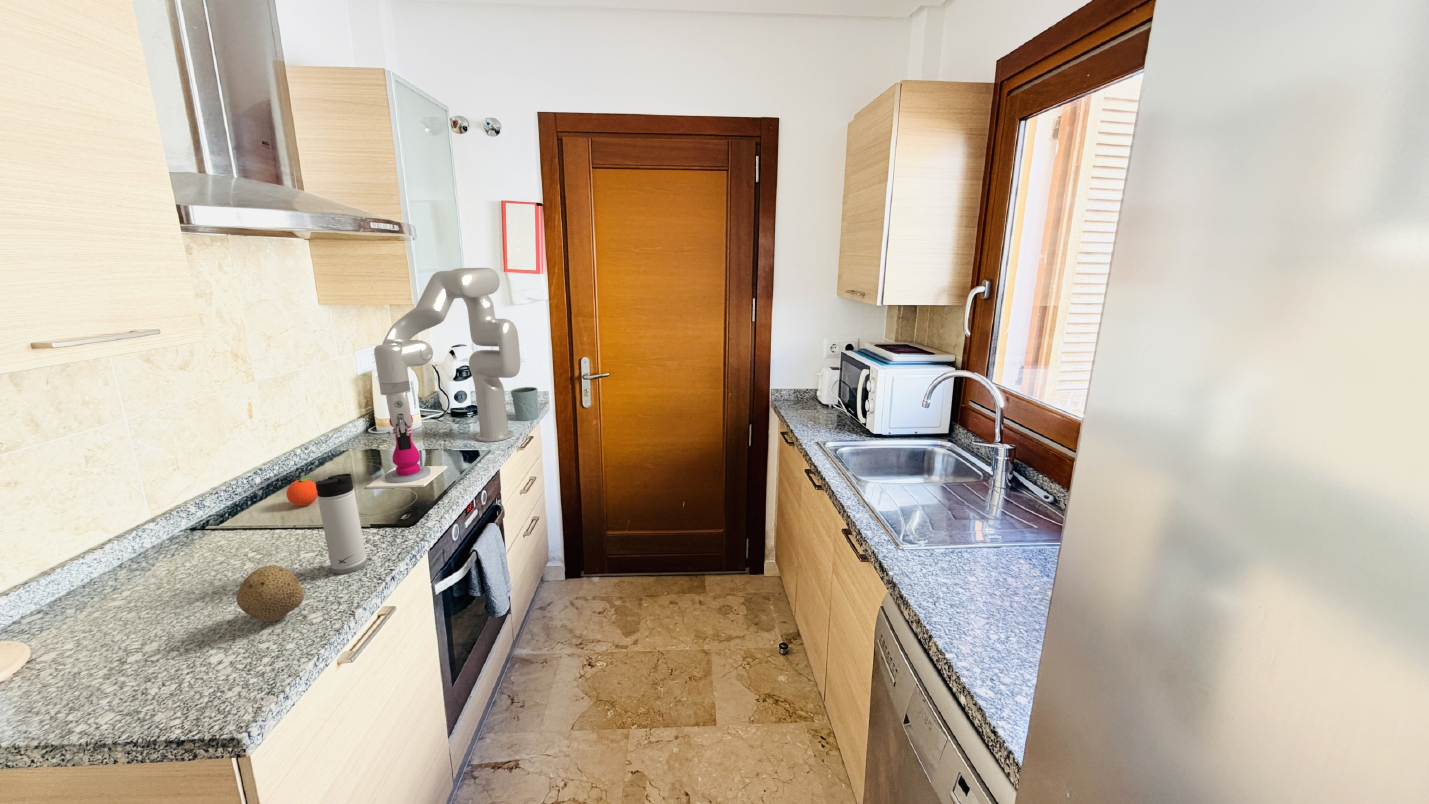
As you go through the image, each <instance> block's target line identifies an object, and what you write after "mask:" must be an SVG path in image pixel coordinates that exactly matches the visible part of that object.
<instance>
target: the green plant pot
mask: <svg viewBox="0 0 1429 804" xmlns="http://www.w3.org/2000/svg"><path fill="white" fill-rule="evenodd" d="M510 394H511V398H512V404H513V409H514V414H515V420H516V421H517V420H518V421H517V422H530V421H535V420H537V419H538V418H539V408H538V405H539V404H538V403H539V402H538V401H539V400H538V398H539V397H538V388H537V387H535V386H524V387H518V388H513V389H512V390H510Z"/></svg>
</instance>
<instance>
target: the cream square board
mask: <svg viewBox="0 0 1429 804" xmlns="http://www.w3.org/2000/svg"><path fill="white" fill-rule="evenodd" d="M397 467H398V466H396V467H393V468H391V469H390V470H388V471H387V472H385V473H384V474H383V475H381V476H379V477H378V478H377V479H375V480H374V481H372V482H371V483H369V484H368V485H366V487H365V489H366V490H368V489H399V488H400V489H401V488H424V487H425V486H427V485H428V484H429V483H431V482H432V481H433V480H434V479H435V478H436V477H438V476H440V474H441V473H443V472H444V471H445V470H446V469H447V468H448V465H433V466H431V465H430V466H428V465H427V466H425V465H420V471H419V472H418V473H416V474H413V475H407V476H399V475H397V474H396V468H397Z"/></svg>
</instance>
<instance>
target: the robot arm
mask: <svg viewBox="0 0 1429 804" xmlns="http://www.w3.org/2000/svg"><path fill="white" fill-rule="evenodd" d="M499 276H500V275H499V274H498V272H497V271H496V270H494V269H493V268H490V267H459V268H454V269H452V270H440V271H436V272H434V273H433V274H432V275H431V277H430V279H429V280H428V282H427V285H426V286H425V289H424V291H423V292H422V294H421V297H420V298H419V300H418V302H417V303H416V305H415V307H413V309H411V310H409V311H408V312H407V313H406V314H404V315H403V316H401V318H399V319H398V320H396V322H395V323H394V324H393V325H392V326H391V327H389V330H388V332H387V333H386V336H385V338H384V339H383V342H382V343H381V344H379V345H376V346H375V347H374V349H373V352H374V359H375V366H376V372H377V379H378V380H377V381H378V386H379V392H380V395H381V396H385V397H386V405H387V408H388V409H387V410H388V414H389V415H388V416H389V419H391V422H392V425H393V427H392V428H393V429H397V434H398V437H397V441H398V448H399V450H400V451H401V450H407V449H411V441H410V435H409V433H408V428H407V425H408V426H410V427H412V428H413V423H412V419H411V415H412V414H411V408H410V402H409V398H408V397H409V396H408V393H410V392H411V386H410V385H411V384H410V380H409V372H408V371H409V369H408V368H409V367H420V366H425V365H427V364H428V363H429V362H431V360H432V358H433V356H434V350H433V347H432V346H431V345H430V344H429V343H428V342H426V341H423V340H418V339H413V338H414V337H415V336H416V335H418V334H420V333H421V332H423V331H426V330H428V329H431V328H433V327H435V326H438V325H440V324H442V322H444V321H445V318H446V317H447V315H448V312H449V310H450V308H451V307H452V305H453V302H454V301H455V299H462V300H463V302H464V303H465V305H466V308H467V316H468V326H469V332H470V338H471V342H472V343H473V344H474V345H476V346H481V347H498V350H497V349H480V350H476V351H474V352H472V354H471V355H470V356H469V359H468V366H469V371H470V373H471V376H472V380H473V385H474V391H475V400H476V408H477V417H478V418H477V419H478V424H479V426H478V427H479V433H478V434H476V435H475V439H476V441H479V442H485V443H488V442H489V443H490V442H499V441H504V440H508V439H510V438H511V437H513V436H514V432H513V430H510V429H509V421H508V417H507V416H508V415H507V407H506V397H505V388H504V385H503V382H502V381H501V380H500V378H503V379H504V378H505V379H509V378H514V377H516V376H517V375H518V374H519V372H520V369H521V354H520V352H521V351H520V343H519V334H518V333H519V332H518V330H517V326H516V325H515V324H514V322H513V321H511V320H510V319H506V318H496V314H495V307H494V303H493V300H492V298H491V297H490V296H489V295H493V294H494V293H496V292H497V291H498V289H499V288H500V284H501V279H500V277H499ZM402 414H403V415H402ZM397 416H398V417H397ZM399 432H400V433H399ZM394 436H395V435H394ZM395 438H396V436H395Z"/></svg>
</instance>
